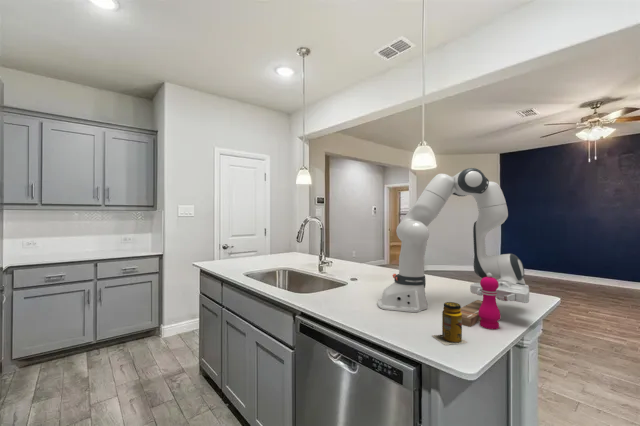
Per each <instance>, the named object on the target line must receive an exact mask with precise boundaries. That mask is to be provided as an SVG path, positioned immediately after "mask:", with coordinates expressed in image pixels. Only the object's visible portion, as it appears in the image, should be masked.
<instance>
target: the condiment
mask: <svg viewBox="0 0 640 426" xmlns="http://www.w3.org/2000/svg"><path fill="white" fill-rule="evenodd" d="M460 308H462V307H461V304H460V303H457V302H452V301H446V302H443V310H442V312H441V313H442V314H441V315H442V316H441V318H442V321H441V322H442V323H441V326H442V327H441V328H442V331H441V332H442V334H438V335H437V334H434V335H433V334H432V335H431V337H433V338H434V339H436V340H437V341H438V342H439V341H440V343H441V344H443V345H444V346H447V345H448V346H450V345H459V344H466V343H468V341H466V340H464V339H463V325H462V313H461V309H460Z"/></svg>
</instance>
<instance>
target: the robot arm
mask: <svg viewBox="0 0 640 426" xmlns="http://www.w3.org/2000/svg"><path fill="white" fill-rule="evenodd" d="M452 195H453V196H457V197H466V196H472V198H473V199H474V200H475V201H476V205H477V210H478V216H477V220H476V221H474V223H473V227H472V229H473V230H472V232H473V234H472V237H473V270H474V271H473V272H474V273H475V274H476V275H477V276H478V277H479V278H481V279H482V278H484V277H487V273H491V274H492V277H493V278H498V279H496V280H497V281H498V284H499V287H498V288H497V289H496V291H497V295H496V299H497V300H499V301H501V302H517V303H522V304H523V303H524V304H528V303H529V302H530V286H529V285H528V284H526V282H525V279H524V277H525V268H524V264H523V262H522V260H521V259H520V258H519V257H518V256H517V255H516V254H513V253H503V254H494V255H492V254H491V255H487V251H486V250H487V249H486V236H487V234H488V233H489V232H491V231H493V230H494V229H496V228H498V227H499V226H501V225H502V224H505V221H506V220H508V217H509V211H508V206H507V202H506V198H505V196H504V192H503V190H502V189H501V186H500V185H499V183H497V182H495V181H490V180H489V179H488V178H487V177H486V176H485V174H484V173H483V172H482V171H481V170H480V169H479V168H475V167H470V168H469V167H468V168H465V169H463V170H461V171H459V172H458V173H456V174H455V175H453V176H451V175H449V174H447V173H438V174H436V175H435V176H434V177H433V178H432V179H431V180H430V181H429V182H428V183H427V185H426V187H425V188H424V189H423V191H422V193H421V194H420V195H419V197H418V199H417V200H416V202H415V203H414V204H413V206H412V207H411V208H410V210H409V211H408V212H407V213H405V216H404V217H403V218H402V219H401V221H400V222H399V223H398V225H397V226H396V230H395V232H396V236H397V238H398V239H399V240H400V243H401V244H400V252H399V256H398V274H396V273H393V274H392V278H393V279H394V280H393V281H394V282H393V283H391V284H389V286H386V288H384V289H383V292H382V295H381V298H379V299H377V301H376V305H377V307H378V308H379V309H381V310H386V311H387V310H389V311H399V312H407V313H408V312H410V313H419V312H420V311H424V310H427V309H428V308H429V305H428V302H427V296H426V287H427V286H426V281H427V279H426V275H425V258H426V257H425V255H426V251H427V250H426V249H427V246H428V245H427V244H428V240H429V238H430V231H429V228H428V226H429V225H431V223H432V222H433V221H434V220H435V219H436V218H437V217H438V216H439V214H440V212H441V211H442V209H443V208H444V206H445V205H446V203H447V202H448V200H449V198H450V197H451V196H452ZM482 289H483V288H482V287H481V285H480V282H474V283H471V284H470V289H469V290H470V293H472V294H474V295H477V296H480V297H481V296H483V294H482Z"/></svg>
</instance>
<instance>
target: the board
mask: <svg viewBox="0 0 640 426" xmlns="http://www.w3.org/2000/svg"><path fill="white" fill-rule="evenodd" d="M482 301H483V300H481V299H480V300H479V299H476V300H474V301H472V302H470V303H468V304H465V305H464V306H462V307H461V308H460V309H461V313H462V326H465V327H468V328H472V327H473V326H475V325H476V324H478V323H480V320H481V318H480V317H479V314H478V313H479V308H480V306H481V304H482Z"/></svg>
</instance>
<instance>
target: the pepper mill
mask: <svg viewBox="0 0 640 426" xmlns="http://www.w3.org/2000/svg"><path fill="white" fill-rule="evenodd" d="M497 280H498V279H496V277H494V278H493V277H492V274H491V273H487V277H484V278H481V280H480V282H479V283H480V285H481V287H482V288H483V289H482V294H483V295H482V300H481V301H482V304H481V306H480V308H479V313H478V314H479V317H480V318H481V320H480V321H479V326H480V327H482V328H484V329H487V330H498V329H500V322H499V321H500V320H501V317H502V316H501V311H500V309H499V306H498V305H497V304H498V303H497V300H496V299H497V298H496V295H497V291H496V289H497V288H498V287H499V284H498V281H497Z"/></svg>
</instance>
